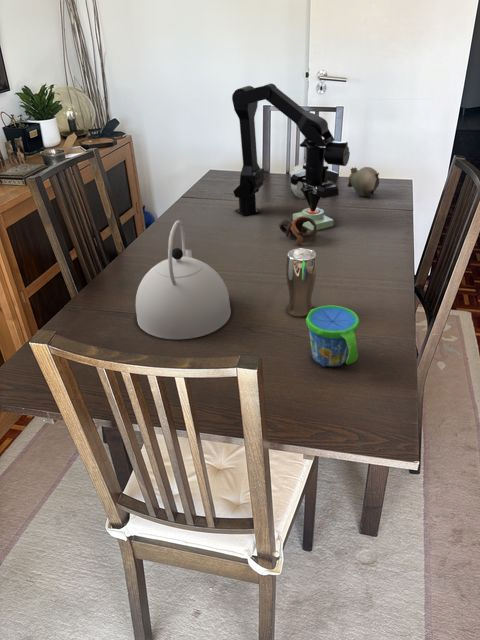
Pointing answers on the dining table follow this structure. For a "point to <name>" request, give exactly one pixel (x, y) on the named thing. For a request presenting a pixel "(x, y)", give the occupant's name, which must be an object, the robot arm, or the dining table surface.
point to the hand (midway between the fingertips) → (313, 210)
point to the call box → (315, 219)
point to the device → (297, 188)
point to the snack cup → (333, 335)
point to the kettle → (181, 296)
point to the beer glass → (300, 280)
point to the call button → (312, 211)
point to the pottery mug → (298, 229)
